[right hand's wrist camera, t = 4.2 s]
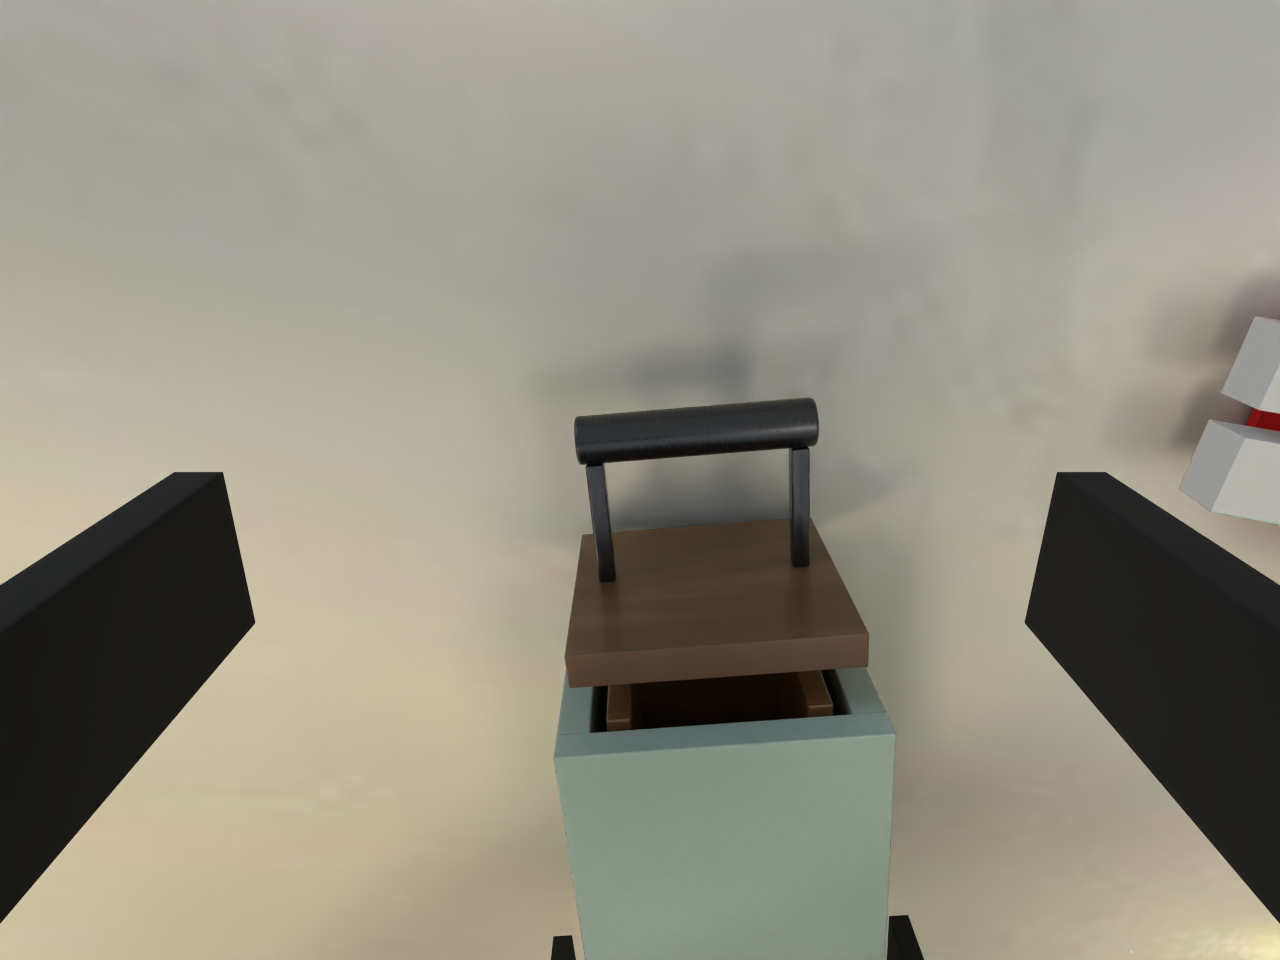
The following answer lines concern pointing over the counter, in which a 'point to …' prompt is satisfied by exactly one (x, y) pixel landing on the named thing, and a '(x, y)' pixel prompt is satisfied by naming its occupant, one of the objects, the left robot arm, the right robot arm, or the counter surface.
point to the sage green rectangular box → (731, 831)
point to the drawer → (708, 584)
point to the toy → (1244, 437)
